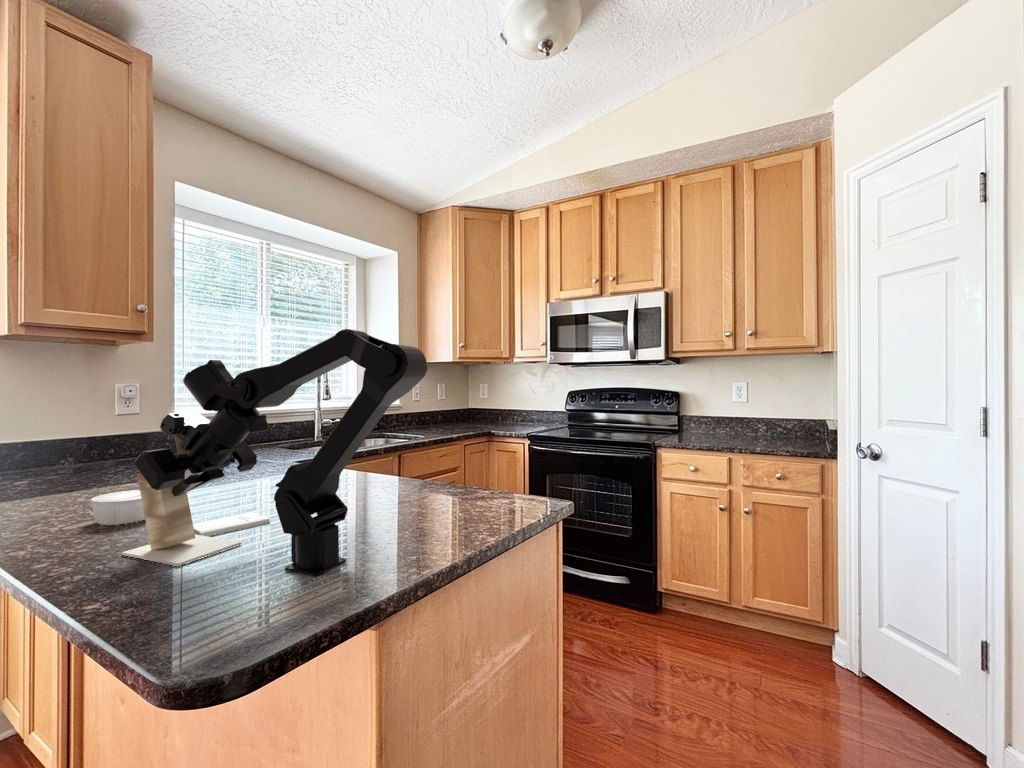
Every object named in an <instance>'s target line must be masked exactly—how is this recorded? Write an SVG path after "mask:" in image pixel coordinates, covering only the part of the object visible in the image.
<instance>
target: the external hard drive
mask: <svg viewBox="0 0 1024 768" xmlns="http://www.w3.org/2000/svg"><path fill="white" fill-rule="evenodd" d="M270 521H271V520H270V518H269V517H267V516H265V515H262V514H259V513H257V512H254V511H253V512H248V513H242V514H237V515H233V516H231V515H230V516H228V517H227V516H225V517H222V518H216V519H211V520H206V521H201V522H196V523H193V527H194V532H195V534H196V535H202V536H210V537H212V536H211V535H214V536H216V535H215V534H219V535H221V534H220V533H223V534H225V533H224V532H228V533H230V532H229V531H232V532H235V531H234V530H237V531H240V530H239V529H241V530H245V529H244V528H246V529H250V528H255V527H259V526H264V525H267V524H270Z"/></svg>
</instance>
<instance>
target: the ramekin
mask: <svg viewBox="0 0 1024 768" xmlns="http://www.w3.org/2000/svg"><path fill="white" fill-rule="evenodd" d="M90 505H91V506H92V507H91V508H92V510H93V511H92V512H93V516H94V520H95V522H96V523H97V524H98V525H99V524H100V525H99V526H103V525H116V526H120V525H119V524H125V525H128V524H127V523H131V524H134V523H133V522H136V523H139V522H138V521H140V522H143V521H142V520H144V521H146V520H145V514H144V509H143V504H142V498H141V493H140V489H135V490H134V489H133V490H132V489H131V490H122V491H115V492H110V493H105V494H101V495H97V496H95V497H92V498H90Z"/></svg>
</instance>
